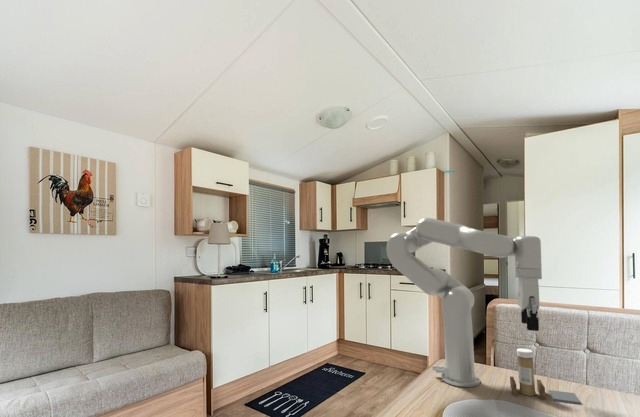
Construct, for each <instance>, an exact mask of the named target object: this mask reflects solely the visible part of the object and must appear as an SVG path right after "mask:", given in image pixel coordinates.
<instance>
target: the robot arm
mask: <svg viewBox="0 0 640 417" xmlns="http://www.w3.org/2000/svg"><path fill="white" fill-rule="evenodd" d="M431 243H437V244H441V245H446V246H450V247H453V248H457V249H460V250H465V251H466V250H467V251H470V252H475V253H478V254H481V255H486V256H490V257H494V258H497V259H499V258H500V259H502V258H503V259H504V258H507V257H514V264H515V265H514V267H515V271H514V272H515V278H517V279H518V280H517V306H518V307H519V308H520V309H521V311H520V313H521V314H520V315H521V318H520V319H521V323H522V324H526V330H527V331H533V332H534V331H535V332H536V331H537V332H538V331H540V325H539V324H540V323H539V320H540V319H539V313H538V311H539V309H540V289H539V288H540V287H539V280H542V279H543V276H542V272H543V271H542V243H541V239H540V238H539V237H538V236H535V235H534V236H533V235H532V236H531V235H522V236H521V235H519V236H510V235H509V236H508V235H504V234H499V233H495V232H489V231H485V230H481V229H480V230H479V229H476V228H472V227H469V226H467V225H464V224H459V223H454V222H449V221H445V220H441V219H435V218H432V217H424V218H421V219H419V221H418V222H417V223H416V224H415V227H414V228H412V229H410V230H409V231H407V232H396V233H394V234H391V236H389V238H388V240H387V242H386V250H385V251H386V256H387V259H388V260H389V262H390V263H391V265H392V266H393V268H395V269H396V270H397V271H399V273H401V274H402V275H403V276H404V277H405V278H407V280H408V281H410V282H411V283H413V284H414V285H415V286H416V287H418V288H419V289H420V290H421V291H423V292H424V293H425V294H426V295H427V296H428V295H429V296H432V297H433V296H438V297H439V298H440V299H442V300H441V310H442V312H441V313H442V318H443V320H442V321H443V334H444V355H445V358H444V359H445V362H444V365H443V364H441V365H438V364H437V365H436V364H433V365H432V371H434V372H435V373H436V374H437V373H439V374H441V375H440V376H441V380H442V381H443V382H445V383H447V384H448V385H452V386H454V387H455V386H456V387H461V388H472V387H476V386H479V385H480V383H481V379H480V377H479V376H477V375H476V372H475V369H476V368H475V352H474V351H475V350H474V348H475V347H474V335H473V334H474V333H473V319H472V308H473V307H474V305H475V302H476V301H475V296H474V294H473V292H472V290H470V289H469V288H468V287H467V286H465V285H464V284H463V283H462V282H460V281H458V279H456V278H454V277H453V276H451V274H449V273H447V272H446V271H444V270H442V269H440V268H431V266H429V265H427V264H426V263H424V261H422V260H421V259H420V258H418V257H416V256H415V255H413V254H412V253H415V252H417V251H419V250H420V249H422V248H424V247H426V246H428V245H430V244H431Z"/></svg>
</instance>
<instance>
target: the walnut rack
mask: <svg viewBox="0 0 640 417" xmlns="http://www.w3.org/2000/svg"><path fill="white" fill-rule="evenodd" d="M509 381H510V382H509V384H510V389H511V392H512V395H513V396H514V397H515V396H516V397H517V396H518V392H517V383H516V380H515V377H514V376H509ZM536 390H537V393H538V395H539V396H540V398H541V400H545V401H546V400H547V399H546V387H545V385H544V383H543V382H542V380H541V379H539V378H537V379H536Z"/></svg>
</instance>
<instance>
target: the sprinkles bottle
mask: <svg viewBox="0 0 640 417" xmlns="http://www.w3.org/2000/svg"><path fill="white" fill-rule="evenodd" d="M516 355H517V367H518V368H517V370H518V382H519V392H520V394H522V395H524V396H530V397H532V396H536V386H535V385H536V384H535V382H536V381H535V372H534V361H533V360H534V351H533V350H531V349H529V348H522V347H521V348H517V349H516Z"/></svg>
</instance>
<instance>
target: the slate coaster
mask: <svg viewBox="0 0 640 417" xmlns="http://www.w3.org/2000/svg"><path fill="white" fill-rule="evenodd" d="M547 390H548V391H547V392H548V394H549V395H550V397H551V398H552V401H554V402H561V403H568V404H577V405H582V402H581V400H580V399H579V397H577V395H576V393H574V392H568V391H560V390H551V389H547Z"/></svg>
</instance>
